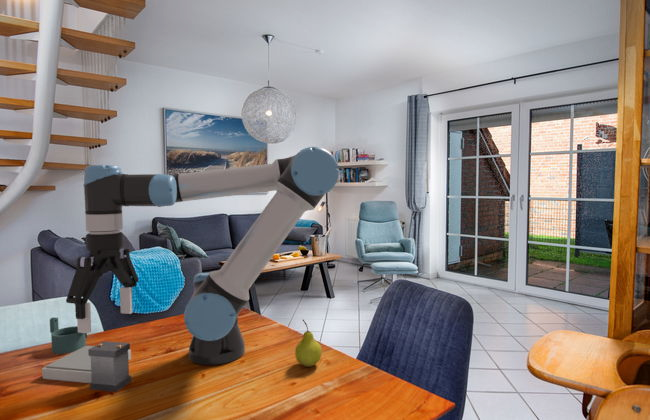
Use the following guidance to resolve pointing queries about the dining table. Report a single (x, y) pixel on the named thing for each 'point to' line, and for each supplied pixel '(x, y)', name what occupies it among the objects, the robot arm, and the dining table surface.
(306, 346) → the fruit
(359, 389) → the dining table surface
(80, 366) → the stand
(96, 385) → the housing
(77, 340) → the bracket
